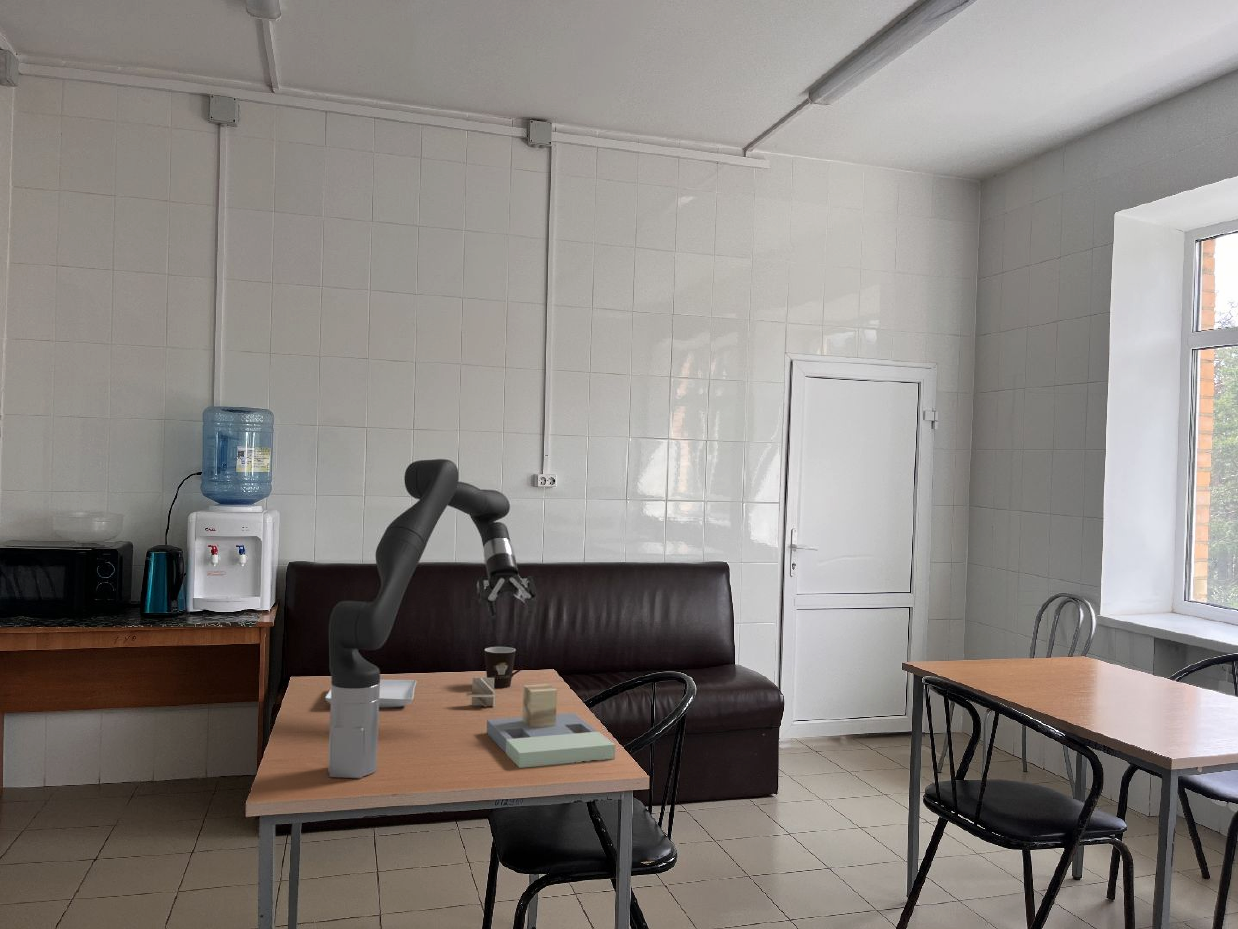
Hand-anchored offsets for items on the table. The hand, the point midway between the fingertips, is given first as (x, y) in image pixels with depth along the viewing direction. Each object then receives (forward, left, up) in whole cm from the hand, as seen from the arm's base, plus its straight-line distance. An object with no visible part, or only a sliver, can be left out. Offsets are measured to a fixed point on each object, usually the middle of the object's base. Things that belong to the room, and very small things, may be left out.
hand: (512, 615), depth 221 cm
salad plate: (+15, +37, -26) cm, 48 cm away
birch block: (-11, -8, -22) cm, 26 cm away
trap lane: (-18, -11, -25) cm, 33 cm away
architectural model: (+13, +8, -26) cm, 30 cm away
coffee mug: (+35, +6, -26) cm, 44 cm away
